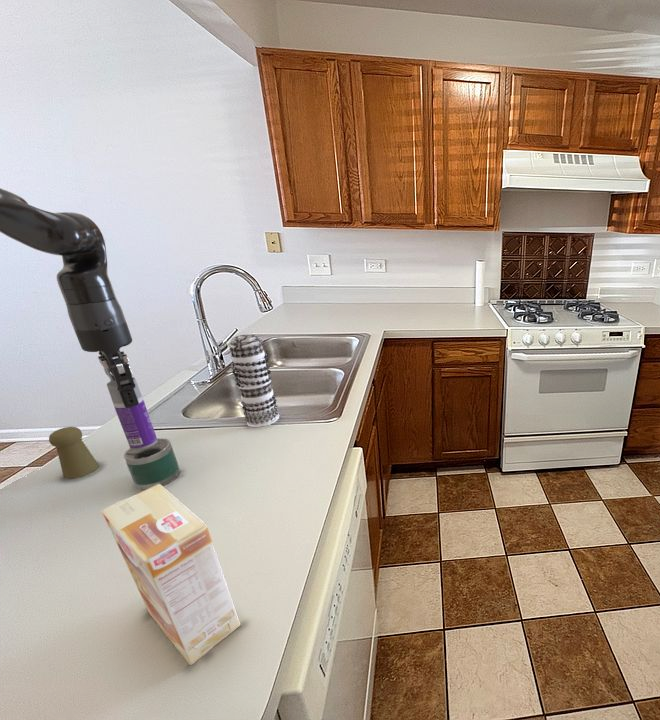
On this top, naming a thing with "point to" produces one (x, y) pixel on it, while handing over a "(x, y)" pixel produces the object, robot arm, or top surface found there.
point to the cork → (73, 453)
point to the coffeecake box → (174, 569)
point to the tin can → (152, 465)
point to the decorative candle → (253, 380)
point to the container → (133, 418)
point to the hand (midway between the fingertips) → (129, 401)
